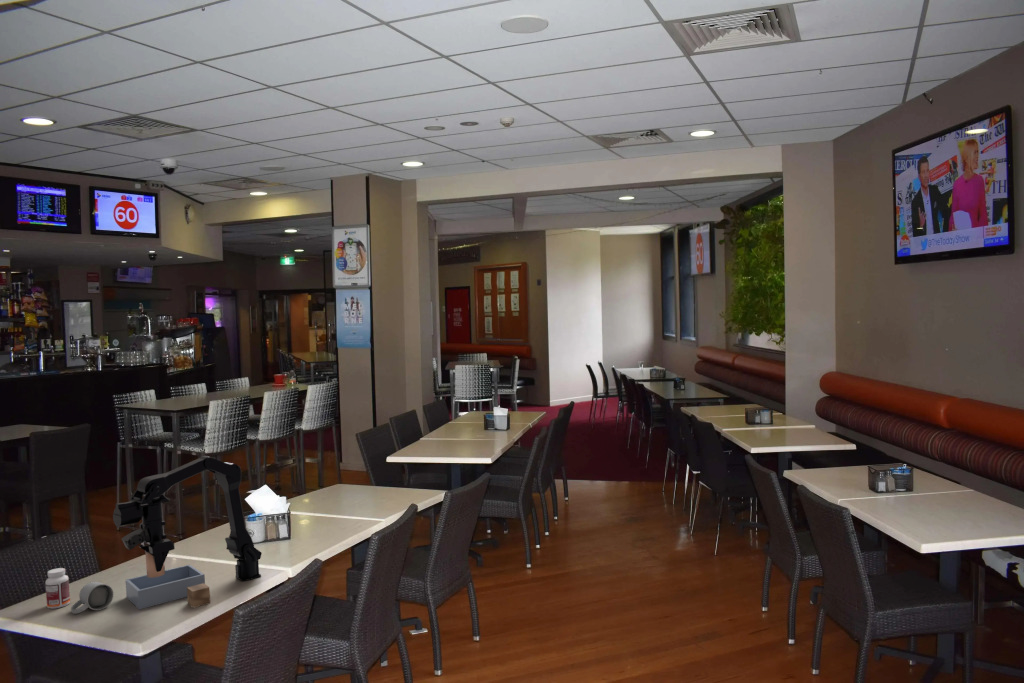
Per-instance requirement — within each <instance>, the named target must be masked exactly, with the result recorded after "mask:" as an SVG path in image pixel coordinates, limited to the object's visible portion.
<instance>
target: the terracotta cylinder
mask: <svg viewBox="0 0 1024 683" xmlns="http://www.w3.org/2000/svg"><path fill="white" fill-rule="evenodd" d="M144 553H145V564H146V565H145V566H146V569H145V570H146V575H147V577H149V578H153V577H159V576H162V575H164V574H165V570H166V569H165V566H166V564H165V562H164V564H163V567H162V569H161V571H159V572H157V571H156V567H155V563H154V559H153V556H152V555H151V554H149V553H148V552H144Z"/></svg>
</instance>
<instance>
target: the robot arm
mask: <svg viewBox="0 0 1024 683" xmlns="http://www.w3.org/2000/svg"><path fill="white" fill-rule="evenodd" d="M204 471H205V472H206V471H208V472H210V473H213V474H214V475H215V478H216V480H217V483H218V484H219V486H220V488H221V489H222V491H223V493H224V494H223V495H224V501H225V505H226V506H225V507H226V511H227V518H228V523H229V529H230V533H229V536H228V537H225V538H224V540H225V543H226V547H225V548H226V550H227V551H228V552H229V553H230V554H231V555H233V558H234V559H236V564H235V566H234V567H235V578H236V579H238V580H240V581H242V582H245V581H249V580H252V579H257V578H260V577H262V574H261V573H260V568H259V567H260V565H259V560H261V558H262V552H261V551H260V550H259V549H257V548H256V547H255V544H254V541H253V538H252V536H251V535H250V534H249V531H248V530H247V528H246V523H245V517H244V511H243V505H242V500H241V492H240V485H241V482H242V469H241V466H240V465H238V464H236V463H233V462H232V463H231V462H223V461H220V460H218V459H216V458H214V457H212V456H208V455H201V456H200V457H199V458H197V459H195V460H192V461H190V462H188V463H185V464H183V465H181V466H178V467H177V468H176V467H175V468H174V469H172V470H170V471H167V472H165V473H164V472H163V473H160V474H159V473H158V474H154V475H153V474H152V475H150V476H149V475H148V476H145V477H143V478H141V479H140V480H139V481H138V483H137V486H136V490H135V492H133V495H132V496H131V498H130V500H129V501H127V502H126V501H125V502H117V503H115V508H114V510H113V513H112V520H113V523H114V525H115V526H116V527H117V528H120V527H125V526H129V525H134V524H137V523H140V524H139V528H138V529H136V530H134V531H132V532H130V533H128V534H127V535H124V536H123V537H121V541H122V543H123V544H124V547H125V548H126V549H127V550H128V551H130V550H133V549H135V548H136V547H139V548H140V549H142V550H143V551H144V553H146V552H148V553H149V554H151V555H152V556H153V559H154V563H155V567H156V571H157V572H159V571H161V569H162V567H163V564H164V563H165V562H166V559H167V557H168V554H169V553H170V552H171V551H174V550H175V541H172V540H170V539H169V538H167V534H165V530H164V526H165V525H166V521H165V520H164V512H163V504H164V503H168V502H170V498H167V497H166V496H165V495H164V494H165V493H166V492H168V491H169V490H170V489H171V488H172V487H173V486H175V485H176V484H178V483H180V482H183V481H185V480H187V479H189V478H192V477H194V476H196V475H198V474H201V473H203V472H204ZM140 521H142V522H140Z"/></svg>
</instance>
